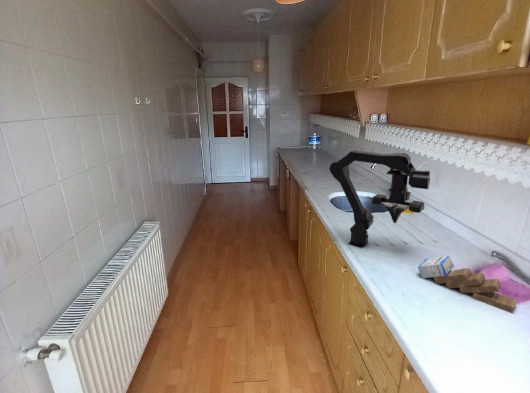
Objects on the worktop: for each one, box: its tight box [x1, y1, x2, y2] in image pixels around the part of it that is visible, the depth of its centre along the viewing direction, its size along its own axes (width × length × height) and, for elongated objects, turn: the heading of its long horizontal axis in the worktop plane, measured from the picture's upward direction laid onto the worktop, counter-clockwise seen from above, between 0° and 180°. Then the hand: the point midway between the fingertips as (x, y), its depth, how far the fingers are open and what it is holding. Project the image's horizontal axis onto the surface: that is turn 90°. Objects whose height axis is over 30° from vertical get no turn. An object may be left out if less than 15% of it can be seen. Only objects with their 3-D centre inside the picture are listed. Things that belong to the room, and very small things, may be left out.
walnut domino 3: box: [458, 278, 501, 294], centre depth 94 cm, size 2×5×10 cm
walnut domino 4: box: [472, 292, 517, 314], centre depth 92 cm, size 2×5×10 cm
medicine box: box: [417, 255, 455, 279], centre depth 105 cm, size 8×4×9 cm
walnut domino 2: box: [445, 271, 486, 290], centre depth 97 cm, size 2×5×10 cm
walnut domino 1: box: [433, 267, 473, 285], centre depth 99 cm, size 2×5×10 cm
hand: (395, 222), depth 120 cm, fingers closed
